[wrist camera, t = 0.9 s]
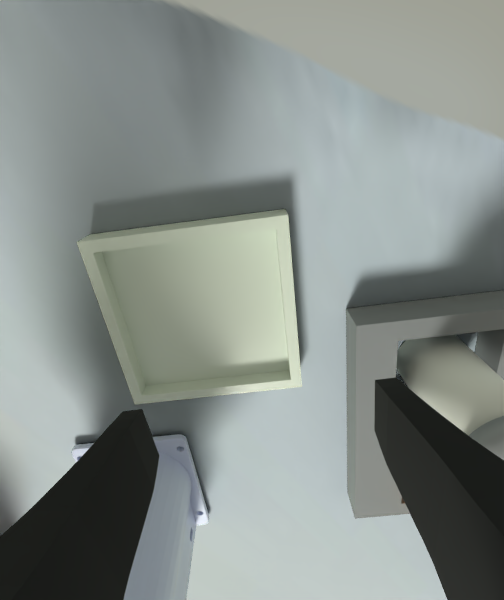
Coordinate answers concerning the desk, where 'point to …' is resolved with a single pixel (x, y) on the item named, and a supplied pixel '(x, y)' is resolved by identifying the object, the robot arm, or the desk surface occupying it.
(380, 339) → the housing
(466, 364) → the grey cylinder
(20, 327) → the desk surface
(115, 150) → the desk surface
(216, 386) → the tray
